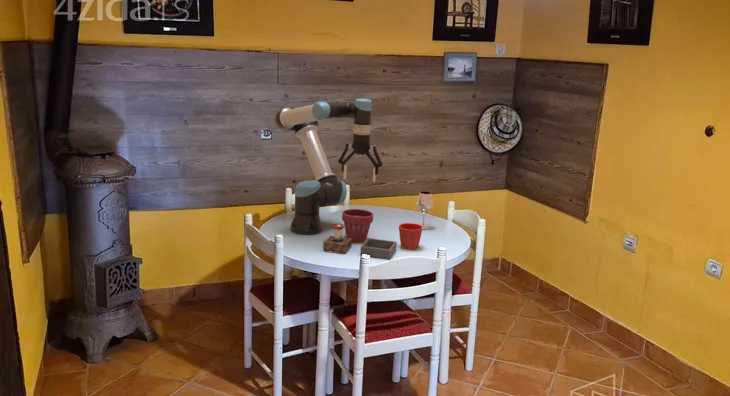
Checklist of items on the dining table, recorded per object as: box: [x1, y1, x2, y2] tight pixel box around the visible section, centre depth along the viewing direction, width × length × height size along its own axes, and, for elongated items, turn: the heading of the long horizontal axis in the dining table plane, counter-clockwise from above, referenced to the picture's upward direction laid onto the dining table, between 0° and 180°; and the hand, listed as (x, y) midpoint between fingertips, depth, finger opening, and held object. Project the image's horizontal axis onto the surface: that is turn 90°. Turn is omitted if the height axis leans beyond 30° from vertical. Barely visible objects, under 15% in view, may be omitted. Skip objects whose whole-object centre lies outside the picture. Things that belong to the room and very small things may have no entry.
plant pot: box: [341, 208, 374, 243], centre depth 280 cm, size 14×14×13 cm
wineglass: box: [416, 191, 434, 230], centre depth 304 cm, size 8×8×18 cm
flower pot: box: [398, 222, 423, 250], centre depth 274 cm, size 11×11×10 cm
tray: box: [359, 237, 398, 260], centre depth 264 cm, size 13×13×4 cm
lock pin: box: [333, 223, 345, 242], centre depth 265 cm, size 4×4×11 cm
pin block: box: [322, 235, 353, 255], centre depth 266 cm, size 10×10×4 cm
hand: (359, 180), depth 277 cm, fingers open, 13 cm apart
